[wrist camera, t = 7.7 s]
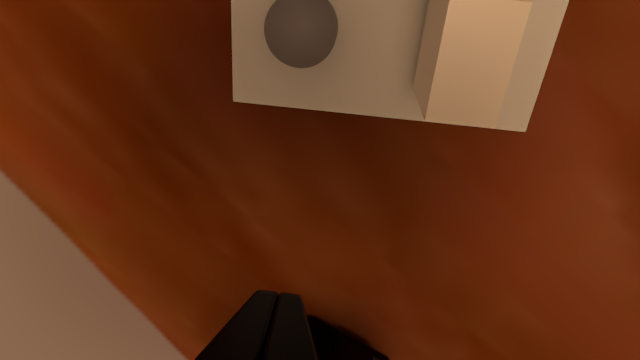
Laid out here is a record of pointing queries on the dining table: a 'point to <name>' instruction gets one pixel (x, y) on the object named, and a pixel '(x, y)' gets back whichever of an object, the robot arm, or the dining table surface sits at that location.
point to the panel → (364, 56)
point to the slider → (468, 59)
